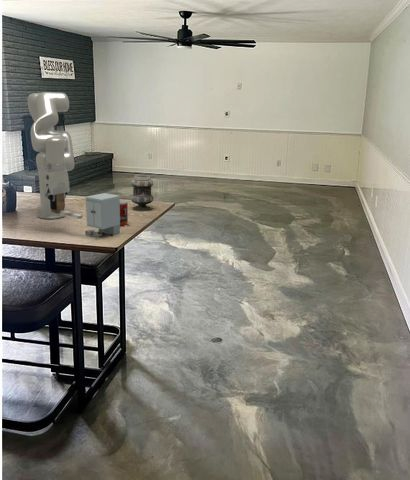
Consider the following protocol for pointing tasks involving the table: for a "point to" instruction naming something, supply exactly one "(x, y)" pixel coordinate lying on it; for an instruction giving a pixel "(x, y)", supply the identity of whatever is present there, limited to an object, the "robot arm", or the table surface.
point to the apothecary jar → (142, 192)
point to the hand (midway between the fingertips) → (57, 207)
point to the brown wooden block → (60, 207)
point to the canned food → (123, 213)
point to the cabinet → (104, 212)
